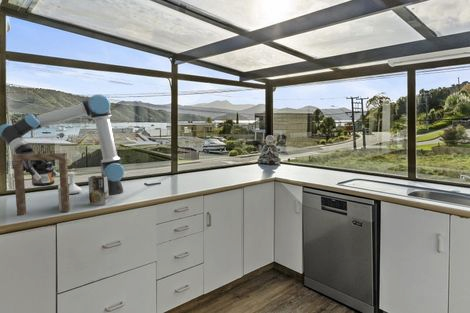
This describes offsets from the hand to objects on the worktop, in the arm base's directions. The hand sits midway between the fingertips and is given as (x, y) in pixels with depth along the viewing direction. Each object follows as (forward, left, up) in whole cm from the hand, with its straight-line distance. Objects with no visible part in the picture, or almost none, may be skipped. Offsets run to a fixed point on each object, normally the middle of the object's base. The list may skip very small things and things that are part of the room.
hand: (47, 177), depth 163 cm
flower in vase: (0, -41, -18) cm, 44 cm away
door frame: (0, +7, -18) cm, 19 cm away
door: (-6, -1, -17) cm, 18 cm away
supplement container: (+3, -1, -4) cm, 5 cm away
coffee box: (-24, -7, -18) cm, 31 cm away
